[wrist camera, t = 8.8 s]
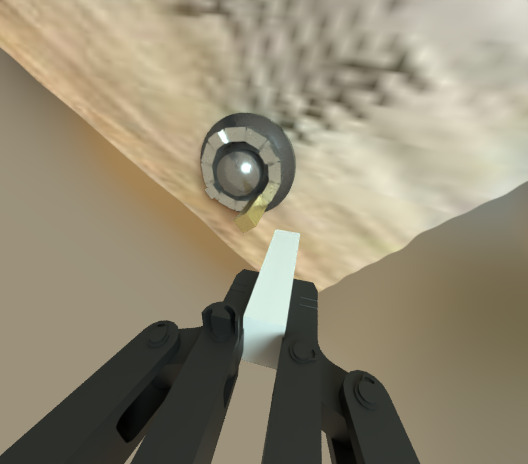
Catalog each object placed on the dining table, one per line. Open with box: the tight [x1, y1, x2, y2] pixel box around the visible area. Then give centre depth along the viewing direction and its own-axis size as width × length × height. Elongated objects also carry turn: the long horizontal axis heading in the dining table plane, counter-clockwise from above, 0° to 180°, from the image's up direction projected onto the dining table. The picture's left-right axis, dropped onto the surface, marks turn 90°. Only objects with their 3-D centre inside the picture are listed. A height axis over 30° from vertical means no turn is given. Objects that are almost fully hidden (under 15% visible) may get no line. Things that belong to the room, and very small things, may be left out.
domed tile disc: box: [201, 126, 283, 233], centre depth 33 cm, size 14×14×12 cm
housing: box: [201, 113, 296, 212], centre depth 37 cm, size 18×18×7 cm
